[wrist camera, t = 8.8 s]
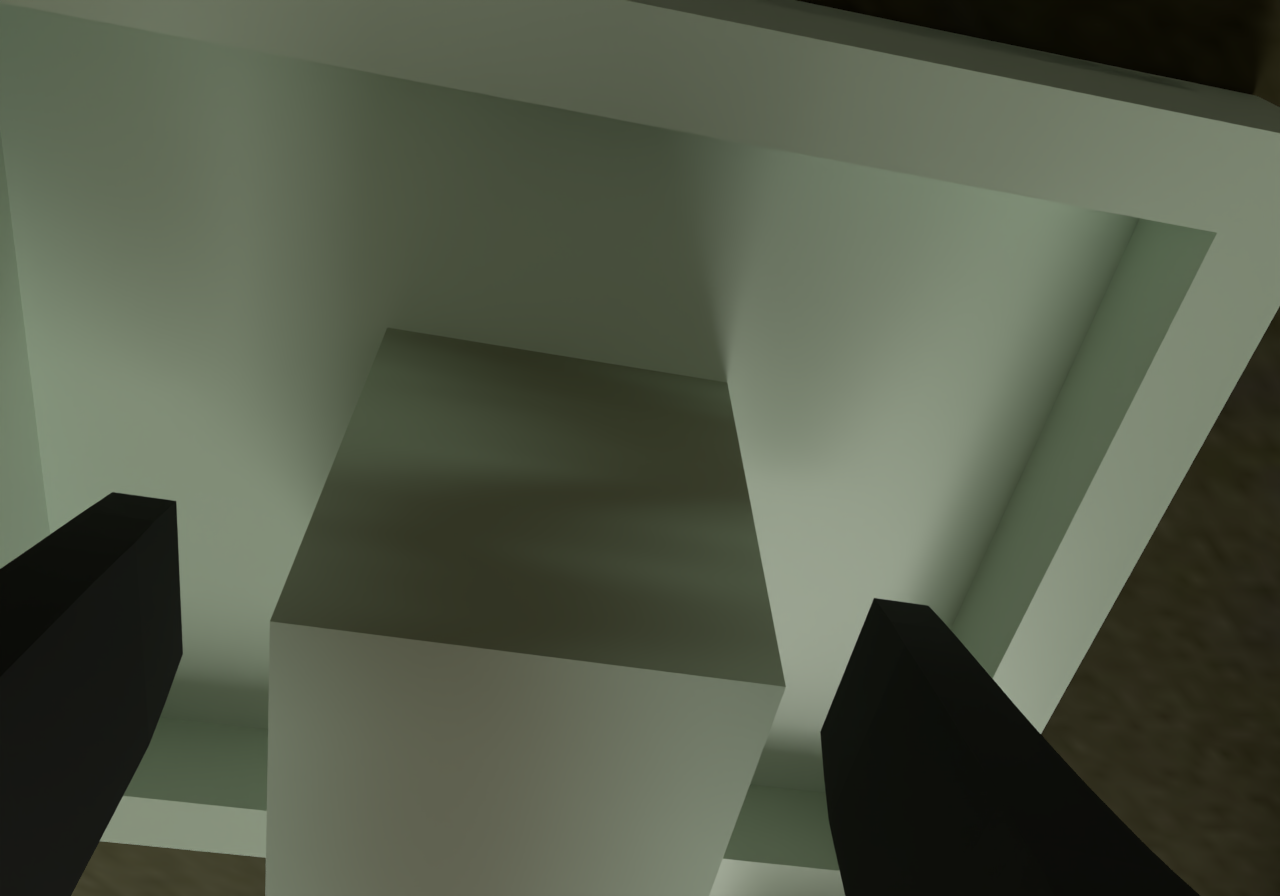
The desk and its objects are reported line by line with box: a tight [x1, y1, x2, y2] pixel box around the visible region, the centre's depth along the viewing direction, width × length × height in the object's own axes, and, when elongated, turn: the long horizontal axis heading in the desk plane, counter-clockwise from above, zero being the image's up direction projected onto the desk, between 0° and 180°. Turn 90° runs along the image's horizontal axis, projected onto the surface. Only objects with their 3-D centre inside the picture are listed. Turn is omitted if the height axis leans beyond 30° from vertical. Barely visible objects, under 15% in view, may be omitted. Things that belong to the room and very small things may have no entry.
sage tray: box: [0, 0, 1280, 896], centre depth 13 cm, size 14×12×2 cm
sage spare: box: [265, 328, 786, 896], centre depth 11 cm, size 4×4×5 cm
